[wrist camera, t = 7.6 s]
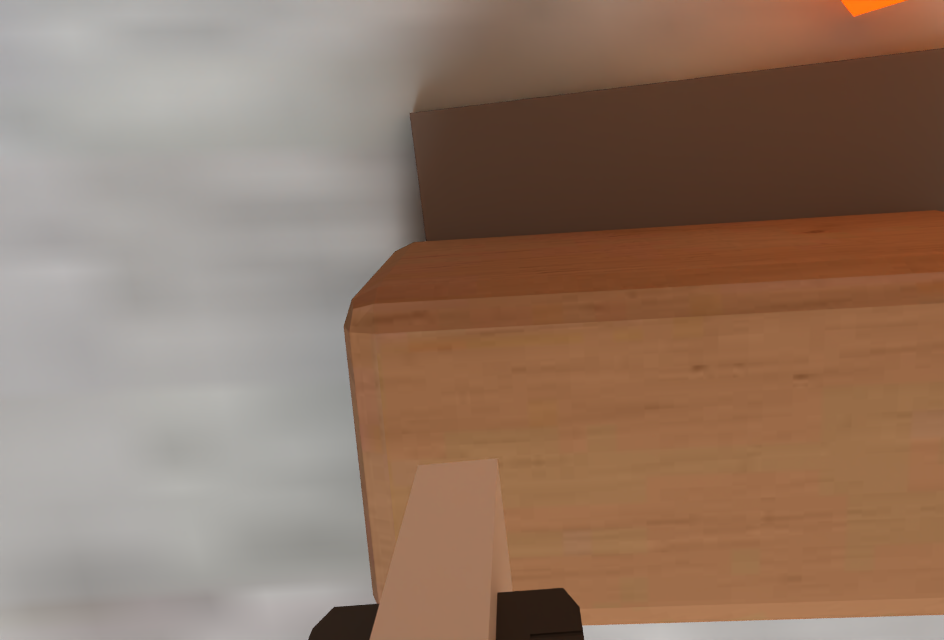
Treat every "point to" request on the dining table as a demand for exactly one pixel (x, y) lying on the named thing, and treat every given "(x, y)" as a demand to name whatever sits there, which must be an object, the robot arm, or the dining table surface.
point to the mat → (690, 151)
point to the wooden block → (674, 411)
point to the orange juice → (867, 5)
